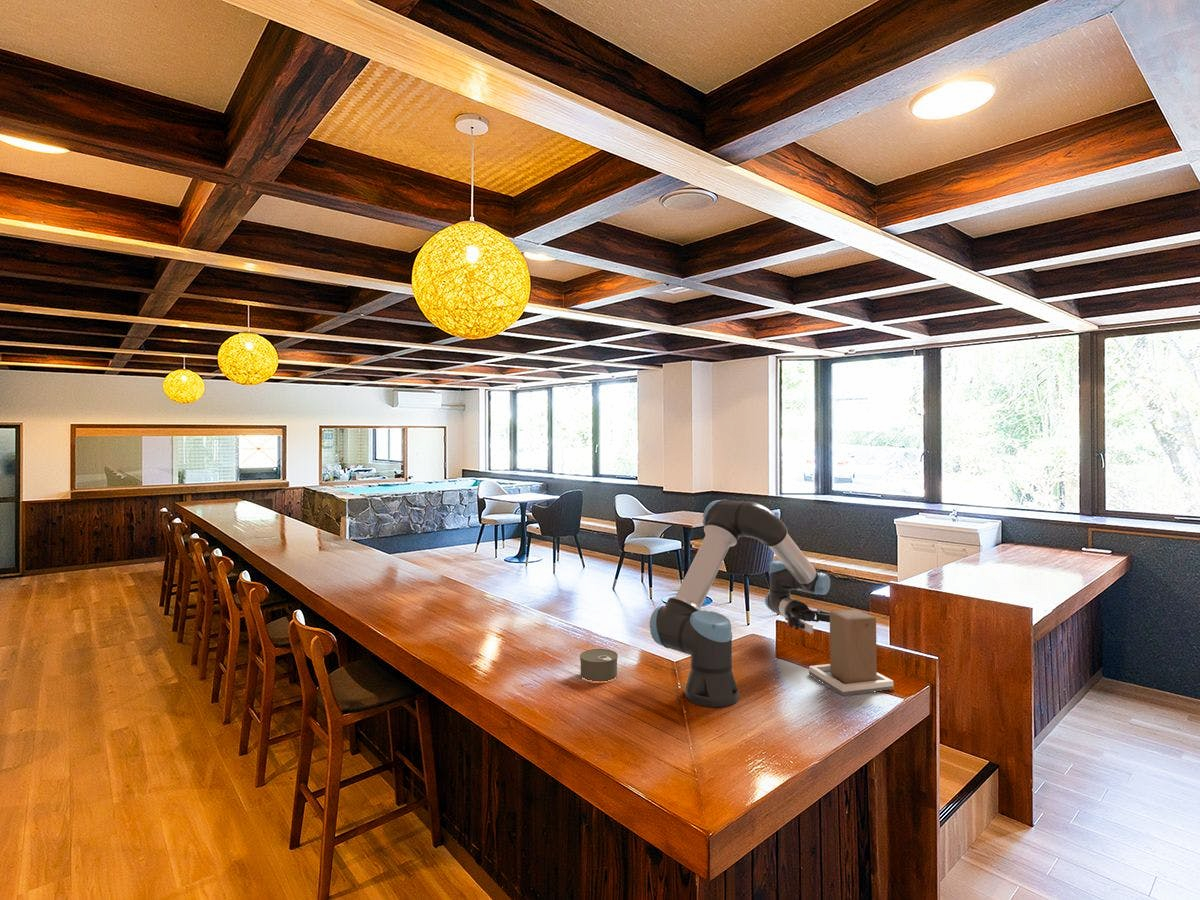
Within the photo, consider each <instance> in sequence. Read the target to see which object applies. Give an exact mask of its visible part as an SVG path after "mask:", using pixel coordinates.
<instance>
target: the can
mask: <svg viewBox="0 0 1200 900" xmlns="http://www.w3.org/2000/svg"><path fill="white" fill-rule="evenodd" d="M618 657H619V655H618V653H617V652H616V651H614V650H611V649H606V648H593V649H588V650H585V651H584V650H583V652H581V653H580V654H579V660H580V661H579V662H580V677H581V676H582V677H583V678H585V679H587V680H592V681H608V680H611V679H614V678H615V677H616V676H617V677H618Z"/></svg>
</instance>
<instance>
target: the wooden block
mask: <svg viewBox="0 0 1200 900" xmlns="http://www.w3.org/2000/svg"><path fill="white" fill-rule="evenodd" d="M829 612H830V622H829V659H830V660H829V661H830V662H829V664H830V672H831V675H833V676H834V677H836V678H837V679H839V680H840V681H841V682H843V683H844V684H851V683H860V682H869V681H877V671H878V670H877V668H878V667H877V658H878V657H877V619H876V617H875V616H873V615H870V614H868V613H865V612H863V611H861V610H859V609H842V610H841V609H840V610H832V611H829Z"/></svg>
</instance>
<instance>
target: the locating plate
mask: <svg viewBox="0 0 1200 900" xmlns="http://www.w3.org/2000/svg"><path fill="white" fill-rule="evenodd" d="M809 674H810V675H812V676H813V677H812V676H811V677H812V678H814V677H815V678H816V679H815V678H814V679H815V680H817V679H818V680H820V681H821V682H823V683H824V684H823V683H822V684H823V685H824V686H826V685H827V686H826V687H828V686H829V687H830V688H829V687H828V688H829V689H831V690H832V689H833V691H834V692H836V693H837V694H839V695H840V696H842V697H846V696H847V695H849V696H855V695H854V694H857V695H862V694H861V693H865V694H869V693H868V692H874V691H880V690H889V689H895V688H894V680H893V679H891V678H889V677H887V676H885V675H883V674H881V673H879V672H877V681H869V682H860V683H851V684H844V683H843V682H841V681H840V680H839V679H837V678H836V677H834V676H833V675H831V672H830V663H826V664H815V665H809V666H808V675H809ZM810 675H809V676H810ZM818 680H817V681H818ZM820 681H819V682H820ZM821 682H820V683H821ZM874 693H875V692H874ZM847 697H848V696H847Z"/></svg>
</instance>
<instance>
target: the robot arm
mask: <svg viewBox="0 0 1200 900" xmlns="http://www.w3.org/2000/svg"><path fill="white" fill-rule="evenodd" d="M702 518H703V519H702V525H703V531H704V534H705V535H704V538H703V540H702V541H701V543H700V546H699V548H698V550H697V551H696V554H695V556H694V558H693V560H692V562H691V564H690V566H689V567H688V570H687V572H686V574H685V576H684V578H683V580H682V582H681V584H680V586H679V588H678V590H677V592H676V594H675V596H670V597H669V598H668V599H667V601H666V603H665V605H660V606H658V607H655V609H654V610H653V612H652V613H651V616H650V619H649V629H650V635H651V638H652V640H653V641H654V642H655V644H657V645H660V646H662V647H664V648H665V649H671V650H674V651H676V652H680V653H684V654H685V655H689V656H690V670H689V674H688V677H687V681H686V684H685V688H684V691H685V695H686V696H685V697H687V698H688V699H689V700H688V699H687V698H686V699H687V700H688V701H689V702H692V703H693V704H695V705H699V706H702V705H703V707H708V706H709V707H708V708H723V707H728V706H731V705H734V704H736V703H737V702H738V701H739V688H738V686H737V683H736V679H735V676H734V672H733V665H732V664H733V658H732V657H733V652H732V651H733V650H732V649H733V648H732V647H733V644H732V643H733V641H732V640H733V632H732V625H731V621H730V619H729V618H728V617H727V616H725V615H723V614H721V613H719V612H716V611H713V610H712V611H711V610H710V611H708V610H702V606H703V605H704V602H705V600H706V598H707V595H708V594H709V593H710V592H709V591H710V589H711V588H712V585H713V583H714V581H715V579H716V577H717V575H718V572H719V570H720V568H721V566H722V563H723V562H724V560H725V558H726V555H727V553H728V551H729V549H730V547H734V546H736V545H737V543H738V541H739V539H740V538H741V537H743V538H752V539H755V540H758V541H759V542H760V543H761V544H762V545H763V546H765V547H767V548H769V549H770V550H771V551H772V553H773V554H774V555H775V556H776V558H778V560H773V561H771V562H770V564H769V571H768V573H769V592H767V594H766V596H765V598H764V604H765V606H766V607H767V608H768V609H769V610H770V611H772V612H773V613H775V614H778V615H780V616H782V617H783V618H784V620H786V621H787V624H788V627H789V628H793V627H794V630H796V631H797V630H799V629H801V630H802V631H805V632H806V633H809V634H810V635H811V634H814V626H813V624H812V623H810V622H815V623H818V622H823V623H830V612H831V611H825V610H823V609H817V610H814V609H811V608H809V606H808V605H807V603H805V602H803V601H800V600H798V599H796V598H793V597H792V595H791V593H792V590H793V591H799V592H804V593H809V594H814V595H820V596H821V595H823V596H824V595H827V594H828V593H829V591H830V588H831V578H830V576H829V575H828V574H827V573H823V572H818V571H817V570H816V568H815V567H814V566H813V565H812V563H811V561H809V559H808V558H807V557H806V556H805V554H804V552H803V551H801V549H800V547H799V546H798V545H797V544H796V542H795V541H794V540H793V538H791V536H790V535H789V533H788V527H787V526H786V524H785V523H784V521H782V520H781V519H780V517H778V515H777V514H775V513H774V512H773V511H771V510H770V509H769V508H767V507H766V506H764V505H762V504H760V503H758V502H755V501H743V500H742V501H740V500H739V501H738V500H729V499H717V500H713V501H711V502H709V504H708V505H706V507H705V509H704V511H703V513H702Z"/></svg>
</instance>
